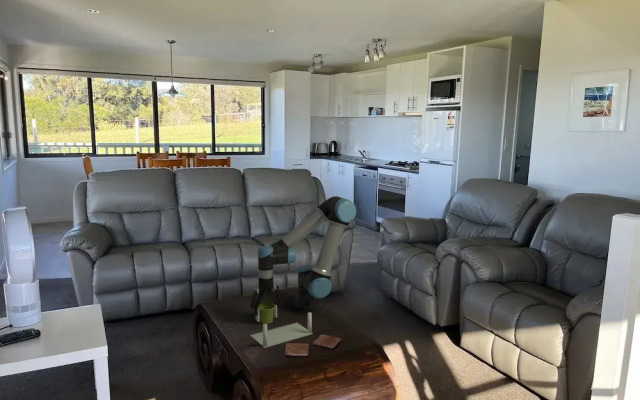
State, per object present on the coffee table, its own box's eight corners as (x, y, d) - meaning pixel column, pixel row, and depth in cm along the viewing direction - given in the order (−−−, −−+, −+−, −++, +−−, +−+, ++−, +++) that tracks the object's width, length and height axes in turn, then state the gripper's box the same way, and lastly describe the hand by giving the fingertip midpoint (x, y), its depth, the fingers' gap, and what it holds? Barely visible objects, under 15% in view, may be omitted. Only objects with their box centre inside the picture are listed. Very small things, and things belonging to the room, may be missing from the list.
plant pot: (272, 326, 229) (272, 310, 227) (254, 325, 230) (254, 308, 229) (278, 319, 238) (277, 303, 236) (260, 317, 240) (260, 302, 238)
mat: (296, 323, 233) (296, 303, 231) (312, 334, 220) (312, 313, 219) (250, 335, 218) (249, 315, 217) (264, 347, 206) (263, 325, 204)
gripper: (281, 271, 240) (281, 311, 243) (242, 278, 228) (243, 321, 231) (288, 274, 234) (288, 316, 237) (249, 282, 221) (250, 326, 225)
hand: (266, 318), depth 234 cm, fingers closed on plant pot, 9 cm apart
